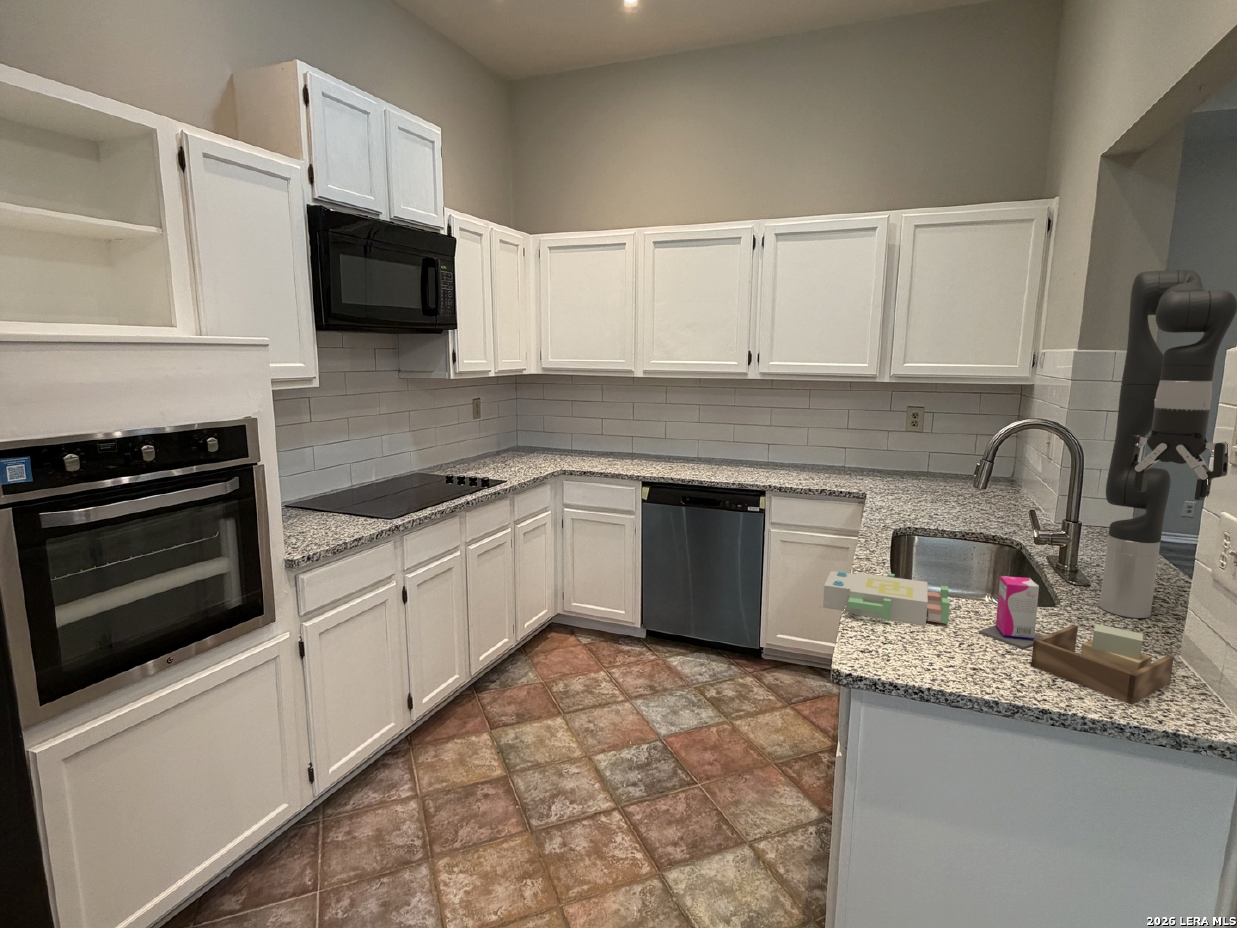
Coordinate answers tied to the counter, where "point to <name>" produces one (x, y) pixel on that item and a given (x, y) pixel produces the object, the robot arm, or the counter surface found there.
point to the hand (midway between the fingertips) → (1169, 495)
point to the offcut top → (1117, 641)
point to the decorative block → (886, 598)
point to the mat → (1019, 643)
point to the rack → (1098, 668)
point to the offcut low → (1115, 658)
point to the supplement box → (1017, 607)
